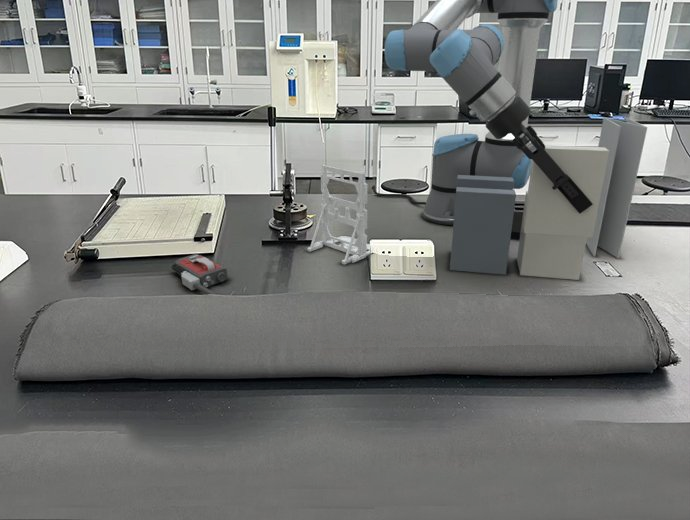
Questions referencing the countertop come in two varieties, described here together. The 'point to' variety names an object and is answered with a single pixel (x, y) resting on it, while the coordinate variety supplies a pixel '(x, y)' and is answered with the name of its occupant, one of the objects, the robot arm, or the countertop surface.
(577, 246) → the white books
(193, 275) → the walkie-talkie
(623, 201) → the brochure
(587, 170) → the white book
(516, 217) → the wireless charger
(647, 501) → the countertop surface
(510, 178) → the grey books
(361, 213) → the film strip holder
